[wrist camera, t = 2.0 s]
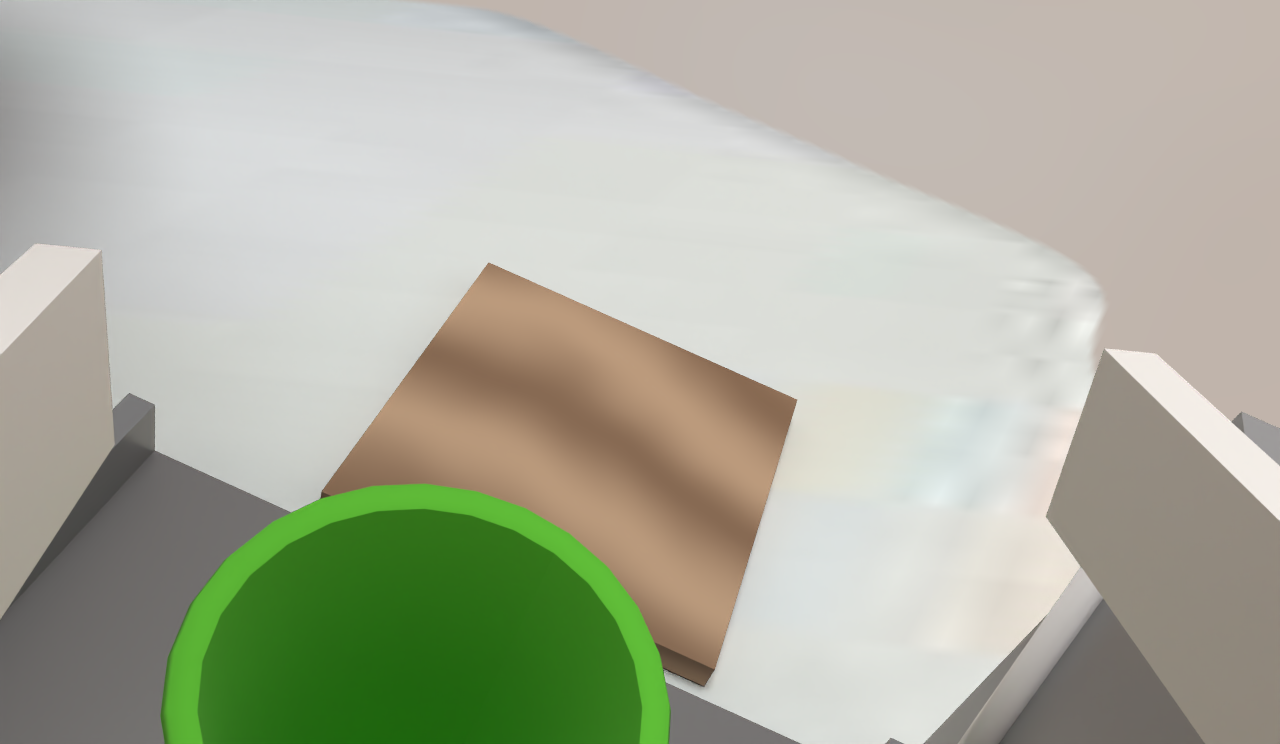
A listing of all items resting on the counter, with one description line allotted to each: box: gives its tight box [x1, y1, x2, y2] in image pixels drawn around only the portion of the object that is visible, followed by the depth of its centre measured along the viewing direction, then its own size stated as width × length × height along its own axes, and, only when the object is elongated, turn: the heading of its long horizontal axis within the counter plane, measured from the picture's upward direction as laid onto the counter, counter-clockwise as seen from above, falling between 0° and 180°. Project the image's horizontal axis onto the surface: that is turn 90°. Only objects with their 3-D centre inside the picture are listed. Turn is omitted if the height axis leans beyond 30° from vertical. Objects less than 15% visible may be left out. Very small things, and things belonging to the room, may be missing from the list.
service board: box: [321, 263, 797, 686], centre depth 40 cm, size 13×13×1 cm
